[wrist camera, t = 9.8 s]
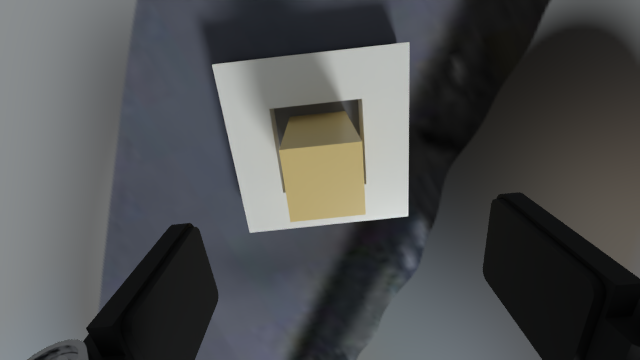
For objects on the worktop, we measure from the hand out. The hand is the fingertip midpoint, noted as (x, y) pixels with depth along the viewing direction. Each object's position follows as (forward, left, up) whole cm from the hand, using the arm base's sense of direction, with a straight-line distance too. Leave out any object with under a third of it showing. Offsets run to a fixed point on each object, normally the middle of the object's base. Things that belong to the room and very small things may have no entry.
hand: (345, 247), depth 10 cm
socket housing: (+1, 0, -14) cm, 14 cm away
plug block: (0, 0, -14) cm, 14 cm away
